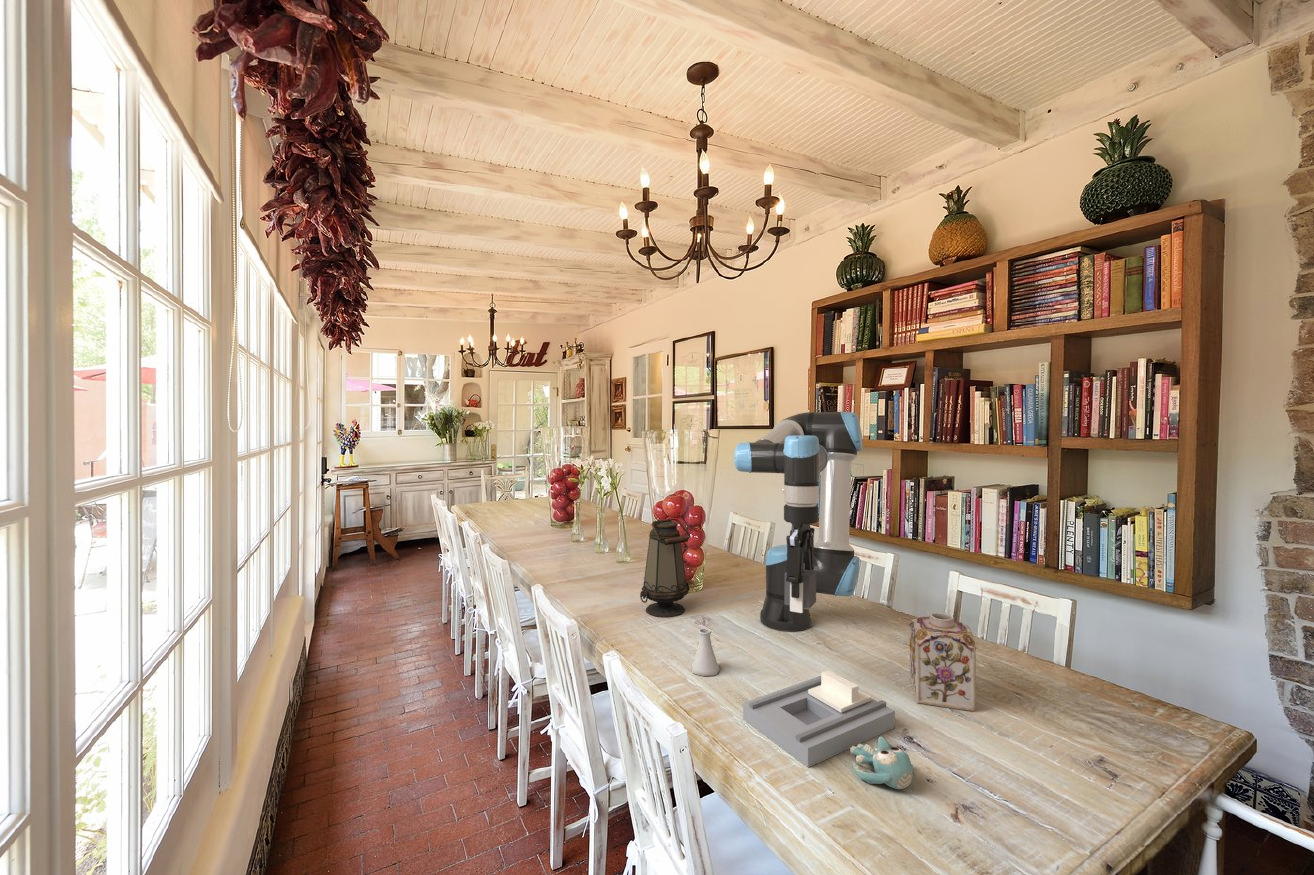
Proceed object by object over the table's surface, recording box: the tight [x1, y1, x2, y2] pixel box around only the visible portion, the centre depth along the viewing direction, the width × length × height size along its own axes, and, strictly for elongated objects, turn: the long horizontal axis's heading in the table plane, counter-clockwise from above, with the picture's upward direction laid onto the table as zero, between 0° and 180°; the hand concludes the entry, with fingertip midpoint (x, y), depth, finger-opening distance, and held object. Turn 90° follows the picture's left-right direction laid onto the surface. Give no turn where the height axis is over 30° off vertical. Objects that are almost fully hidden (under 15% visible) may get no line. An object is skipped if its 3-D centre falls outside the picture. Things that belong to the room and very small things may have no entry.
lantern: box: [639, 517, 691, 619], centre depth 175 cm, size 18×15×30 cm
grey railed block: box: [742, 675, 896, 768], centre depth 109 cm, size 24×18×4 cm
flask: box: [690, 627, 721, 677], centre depth 133 cm, size 7×7×10 cm
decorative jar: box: [909, 611, 977, 712], centre depth 120 cm, size 12×12×18 cm
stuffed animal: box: [849, 736, 914, 790], centre depth 94 cm, size 11×7×12 cm
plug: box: [784, 563, 817, 610], centre depth 121 cm, size 6×6×10 cm
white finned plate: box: [808, 669, 872, 713], centre depth 112 cm, size 9×9×4 cm
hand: (800, 607), depth 120 cm, fingers closed on plug, 5 cm apart
